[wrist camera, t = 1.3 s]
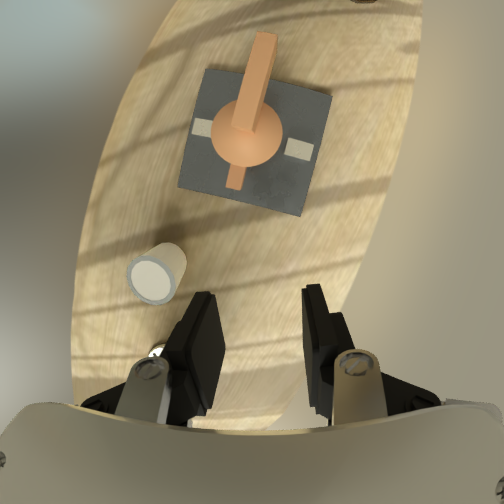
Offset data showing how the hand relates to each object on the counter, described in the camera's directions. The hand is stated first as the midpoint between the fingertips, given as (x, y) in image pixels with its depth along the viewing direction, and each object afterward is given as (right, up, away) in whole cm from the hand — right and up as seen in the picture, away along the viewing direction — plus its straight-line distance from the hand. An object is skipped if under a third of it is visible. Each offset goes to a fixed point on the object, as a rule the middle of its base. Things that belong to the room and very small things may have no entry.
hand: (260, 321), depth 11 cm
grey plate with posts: (0, +17, +21) cm, 27 cm away
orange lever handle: (0, +15, +12) cm, 20 cm away
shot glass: (-12, +2, +28) cm, 30 cm away
